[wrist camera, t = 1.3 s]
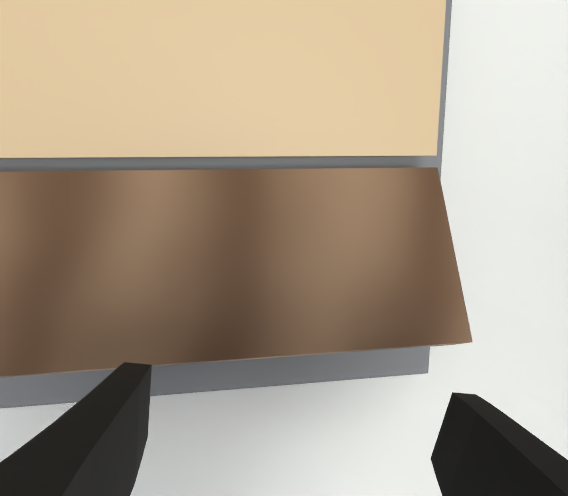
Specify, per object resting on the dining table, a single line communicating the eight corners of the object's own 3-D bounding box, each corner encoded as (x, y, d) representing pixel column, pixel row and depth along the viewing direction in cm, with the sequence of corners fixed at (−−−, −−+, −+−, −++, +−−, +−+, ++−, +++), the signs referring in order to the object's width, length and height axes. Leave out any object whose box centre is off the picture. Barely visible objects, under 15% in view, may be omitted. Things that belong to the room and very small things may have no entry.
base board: (1, 396, 19) (-31, 429, 16) (-69, -50, 15) (-121, -89, 13) (418, 363, 21) (442, 387, 19) (441, -20, 18) (473, -48, 16)
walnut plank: (-52, 381, 14) (-83, 382, 12) (-24, 188, 16) (-47, 172, 14) (452, 344, 16) (472, 342, 15) (422, 182, 18) (437, 167, 17)
